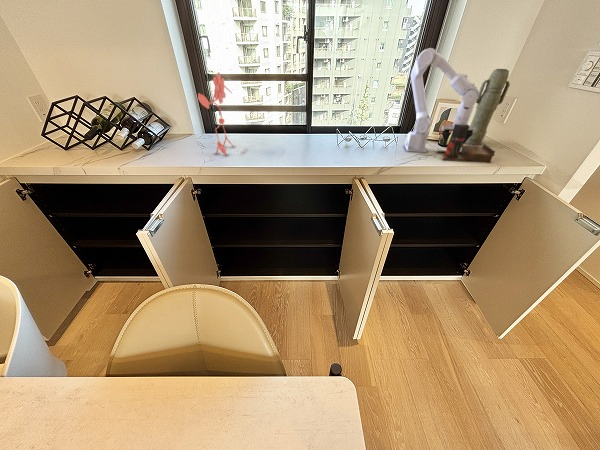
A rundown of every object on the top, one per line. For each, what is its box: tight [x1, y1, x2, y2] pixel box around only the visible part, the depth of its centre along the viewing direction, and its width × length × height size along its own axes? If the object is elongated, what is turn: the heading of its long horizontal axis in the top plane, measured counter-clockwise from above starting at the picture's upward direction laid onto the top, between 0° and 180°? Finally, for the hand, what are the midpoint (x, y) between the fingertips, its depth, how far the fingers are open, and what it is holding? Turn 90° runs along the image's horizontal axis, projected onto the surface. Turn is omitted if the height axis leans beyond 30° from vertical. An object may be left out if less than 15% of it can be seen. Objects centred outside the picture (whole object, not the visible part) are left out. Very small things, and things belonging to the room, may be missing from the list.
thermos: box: [464, 68, 511, 146], centre depth 132 cm, size 9×12×35 cm
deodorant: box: [443, 124, 470, 158], centre depth 122 cm, size 6×6×15 cm
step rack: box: [436, 143, 496, 163], centre depth 124 cm, size 21×10×5 cm, turn 82°
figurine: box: [197, 72, 248, 159], centre depth 122 cm, size 15×26×35 cm, turn 172°
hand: (452, 146), depth 126 cm, fingers open, 7 cm apart
